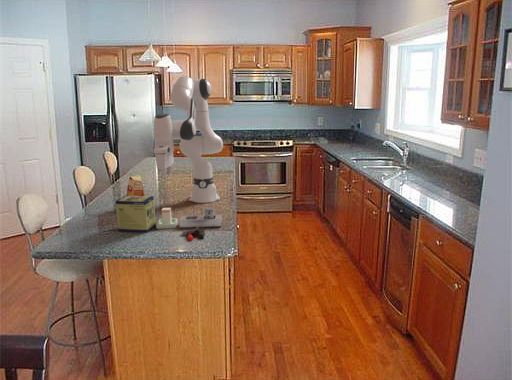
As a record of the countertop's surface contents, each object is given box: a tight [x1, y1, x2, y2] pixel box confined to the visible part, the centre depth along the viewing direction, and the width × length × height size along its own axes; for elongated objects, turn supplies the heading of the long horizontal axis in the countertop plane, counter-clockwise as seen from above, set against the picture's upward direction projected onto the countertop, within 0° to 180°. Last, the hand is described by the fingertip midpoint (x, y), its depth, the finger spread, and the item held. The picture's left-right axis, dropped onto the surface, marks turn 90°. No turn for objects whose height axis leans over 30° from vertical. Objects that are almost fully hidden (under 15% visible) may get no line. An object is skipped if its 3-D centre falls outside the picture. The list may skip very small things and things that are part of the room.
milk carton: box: [126, 174, 146, 196], centre depth 251 cm, size 9×9×20 cm
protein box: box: [115, 195, 157, 234], centre depth 213 cm, size 10×16×16 cm
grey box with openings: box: [178, 206, 222, 229], centre depth 214 cm, size 14×20×8 cm
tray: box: [155, 217, 179, 230], centre depth 219 cm, size 10×9×2 cm
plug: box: [160, 207, 173, 224], centre depth 218 cm, size 4×4×8 cm
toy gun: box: [181, 225, 206, 242], centre depth 200 cm, size 10×12×5 cm
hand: (166, 176), depth 215 cm, fingers open, 8 cm apart
